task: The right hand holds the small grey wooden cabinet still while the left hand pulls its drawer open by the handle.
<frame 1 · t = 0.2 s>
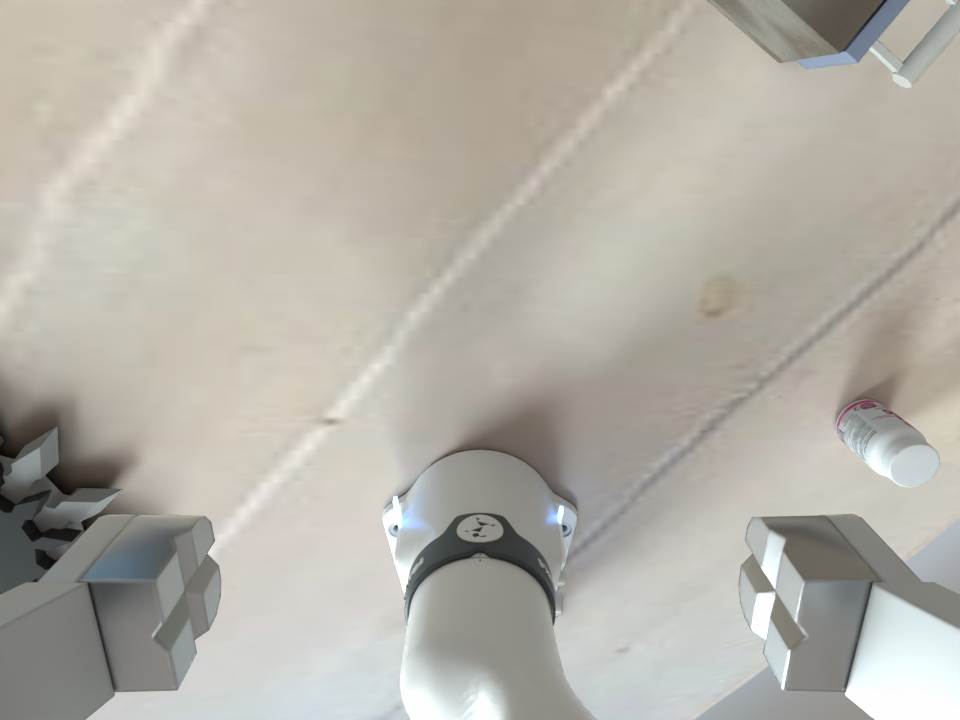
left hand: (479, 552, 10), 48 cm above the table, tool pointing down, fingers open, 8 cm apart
pill bottle: (859, 420, 62), on the table
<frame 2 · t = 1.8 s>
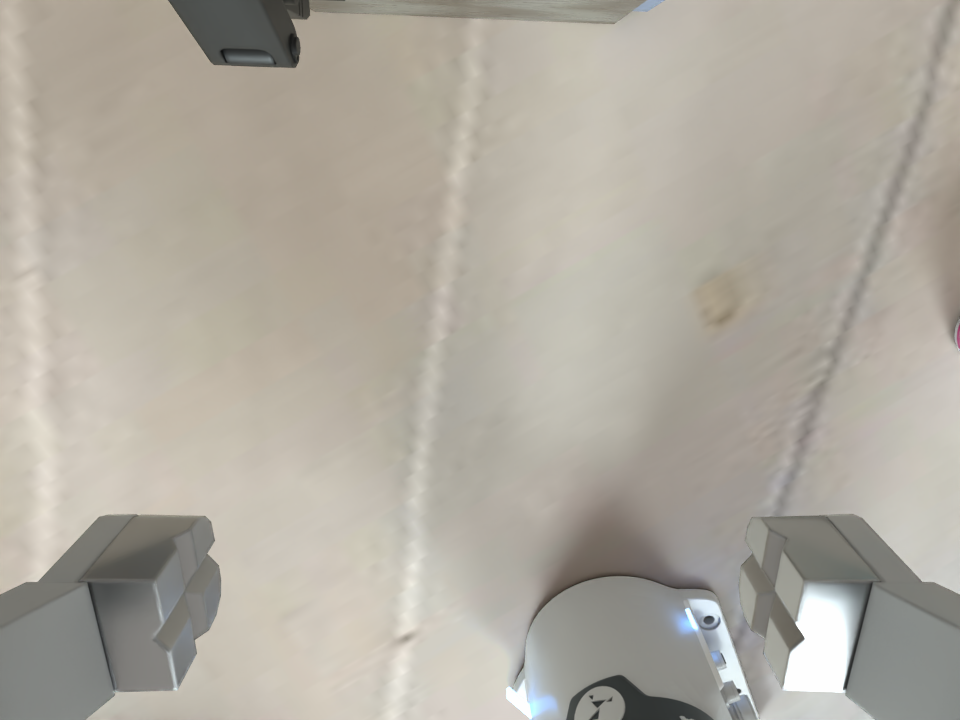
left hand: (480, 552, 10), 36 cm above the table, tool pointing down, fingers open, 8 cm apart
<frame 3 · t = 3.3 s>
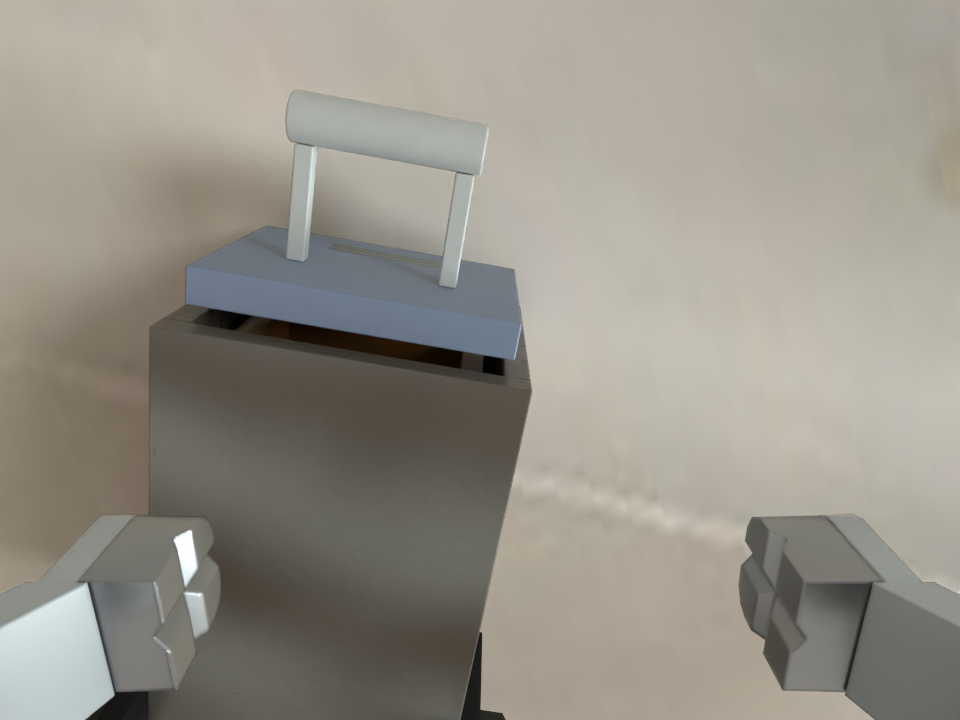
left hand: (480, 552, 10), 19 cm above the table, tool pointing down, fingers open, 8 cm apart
cabinet: (365, 467, 31), on the table, touching right hand
drawer: (358, 414, 25), point 5 cm above the table, slide at 0.5 cm
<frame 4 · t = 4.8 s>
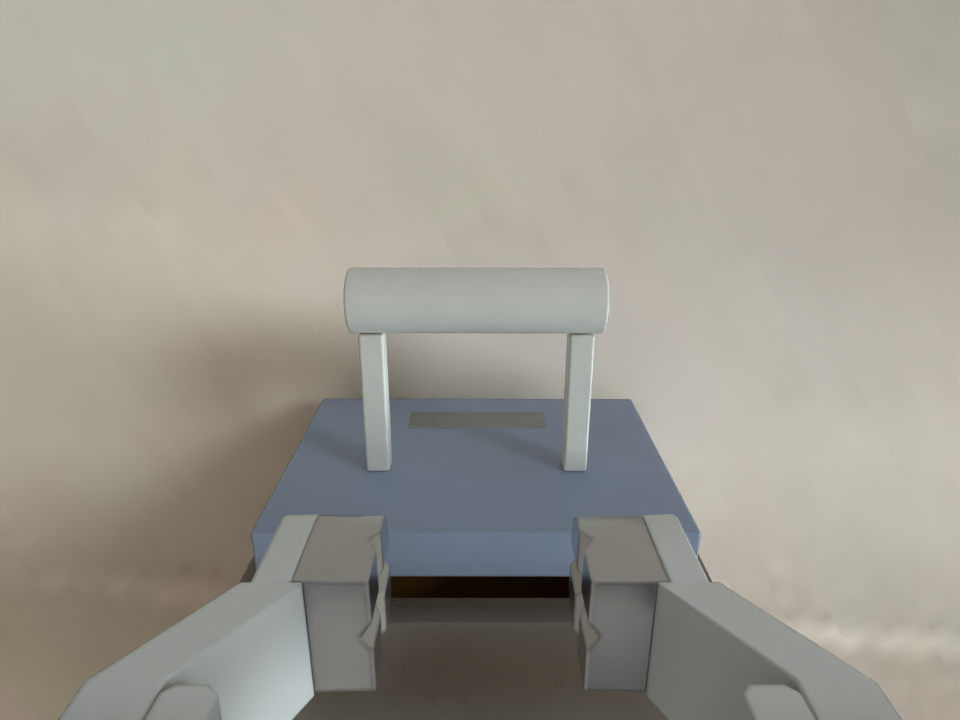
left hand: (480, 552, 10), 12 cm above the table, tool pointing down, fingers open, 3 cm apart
cabinet: (477, 636, 26), on the table, touching right hand
drawer: (476, 620, 20), point 5 cm above the table, slide at 0.5 cm
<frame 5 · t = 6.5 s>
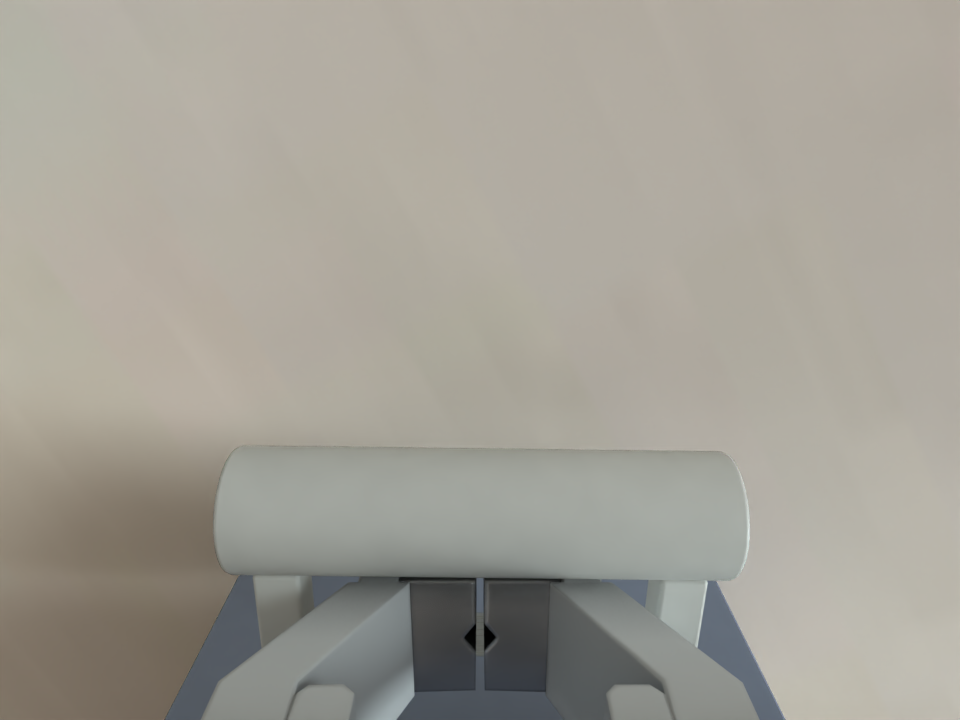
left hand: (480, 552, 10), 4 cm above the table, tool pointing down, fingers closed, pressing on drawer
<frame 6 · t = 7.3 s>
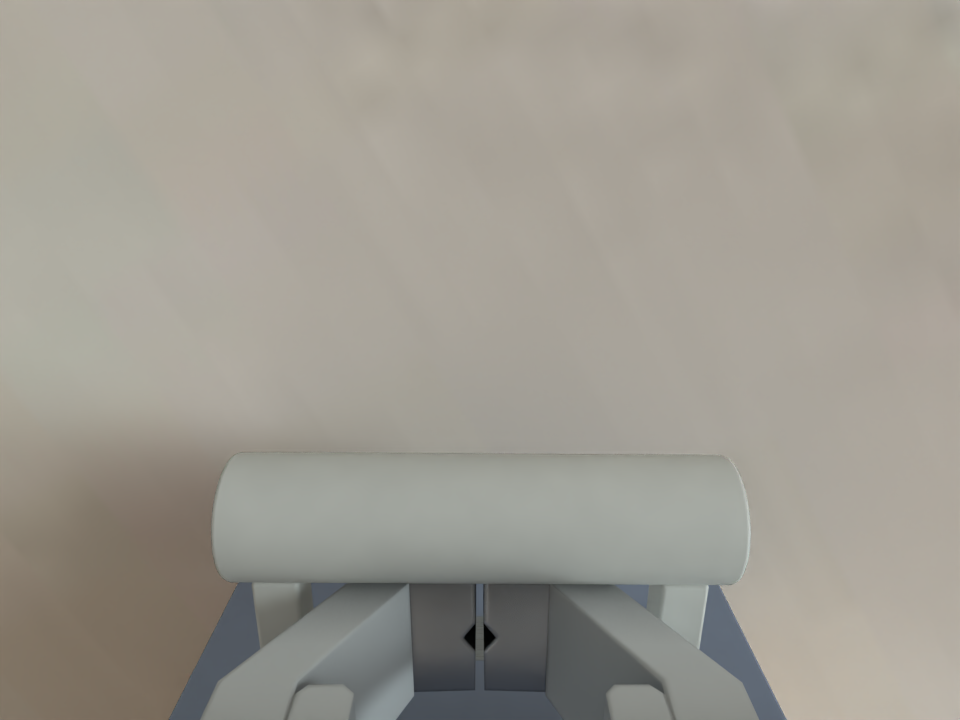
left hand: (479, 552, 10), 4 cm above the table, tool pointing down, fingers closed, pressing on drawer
when the right hand's fingers open (5 cm above the table, at t = 9.2 s): cabinet stays where it is, on the table.
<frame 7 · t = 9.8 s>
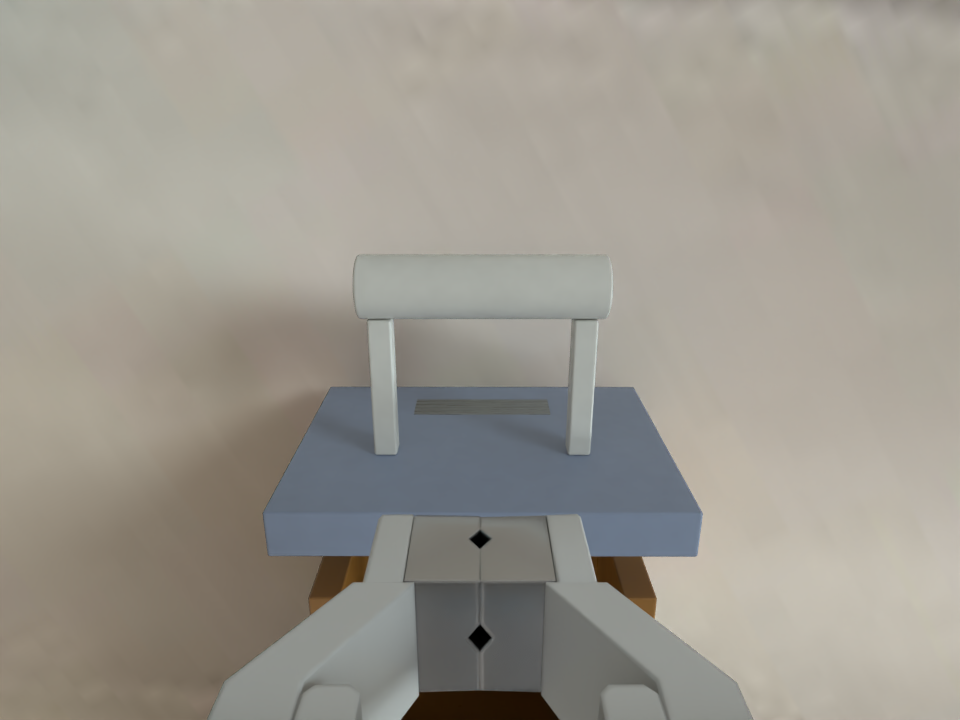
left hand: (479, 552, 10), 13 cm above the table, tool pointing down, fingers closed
drawer: (481, 603, 21), point 5 cm above the table, slide at 6.5 cm
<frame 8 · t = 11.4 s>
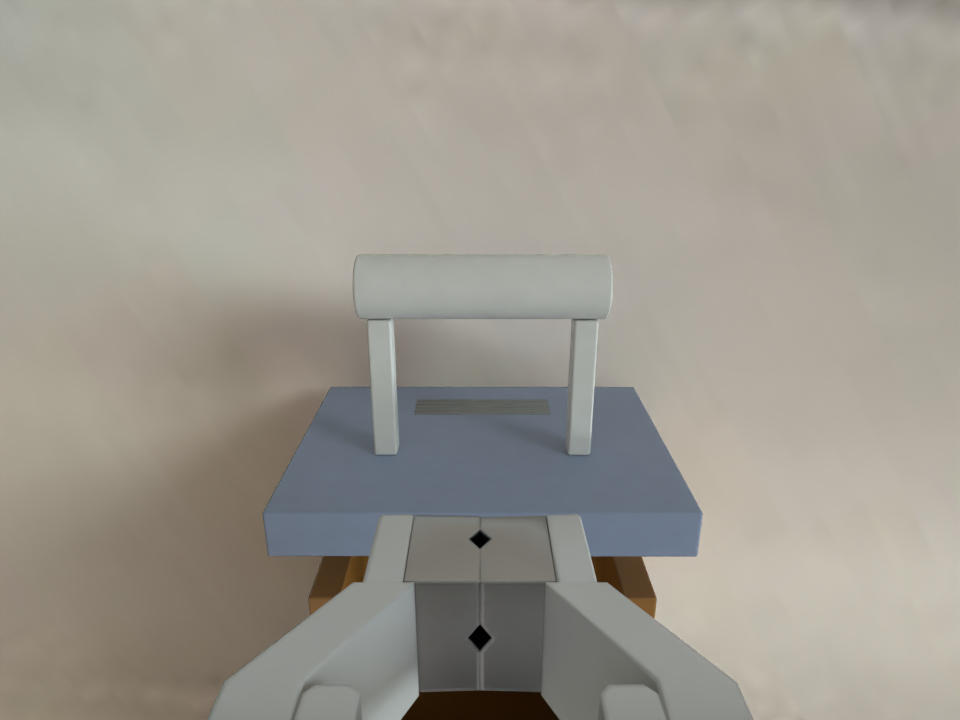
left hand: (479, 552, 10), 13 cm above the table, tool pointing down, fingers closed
drawer: (481, 603, 21), point 5 cm above the table, slide at 6.5 cm
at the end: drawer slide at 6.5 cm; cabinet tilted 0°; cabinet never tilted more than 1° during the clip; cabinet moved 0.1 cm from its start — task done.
